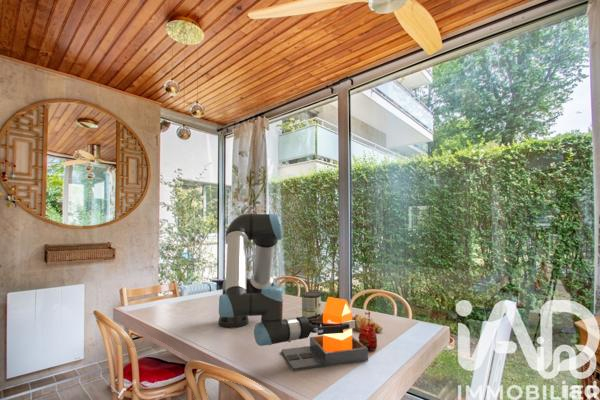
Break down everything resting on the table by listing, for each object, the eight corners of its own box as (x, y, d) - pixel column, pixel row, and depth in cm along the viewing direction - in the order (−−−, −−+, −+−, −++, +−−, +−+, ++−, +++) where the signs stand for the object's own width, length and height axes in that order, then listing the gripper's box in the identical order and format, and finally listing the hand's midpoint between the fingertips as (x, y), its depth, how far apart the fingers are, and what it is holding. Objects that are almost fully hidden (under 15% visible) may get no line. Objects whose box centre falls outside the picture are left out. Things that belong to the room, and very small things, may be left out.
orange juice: (333, 345, 125) (333, 295, 127) (352, 350, 120) (352, 298, 122) (322, 351, 119) (322, 298, 121) (341, 357, 114) (341, 301, 116)
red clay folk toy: (355, 348, 125) (355, 310, 127) (364, 343, 131) (363, 307, 132) (372, 353, 121) (371, 314, 122) (380, 348, 126) (379, 310, 127)
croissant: (384, 338, 146) (386, 321, 150) (379, 334, 139) (381, 316, 143) (342, 330, 157) (345, 314, 161) (336, 325, 150) (339, 308, 154)
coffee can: (302, 317, 168) (302, 291, 170) (321, 318, 167) (321, 291, 169) (300, 323, 158) (300, 295, 159) (320, 324, 157) (320, 295, 158)
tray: (293, 371, 105) (293, 357, 106) (281, 352, 122) (281, 340, 122) (368, 360, 114) (367, 348, 114) (347, 344, 130) (347, 333, 130)
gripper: (283, 329, 122) (331, 322, 132) (311, 350, 102) (364, 339, 112) (284, 310, 123) (330, 304, 133) (311, 326, 103) (364, 317, 113)
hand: (346, 320), depth 123 cm, fingers closed on orange juice, 10 cm apart
